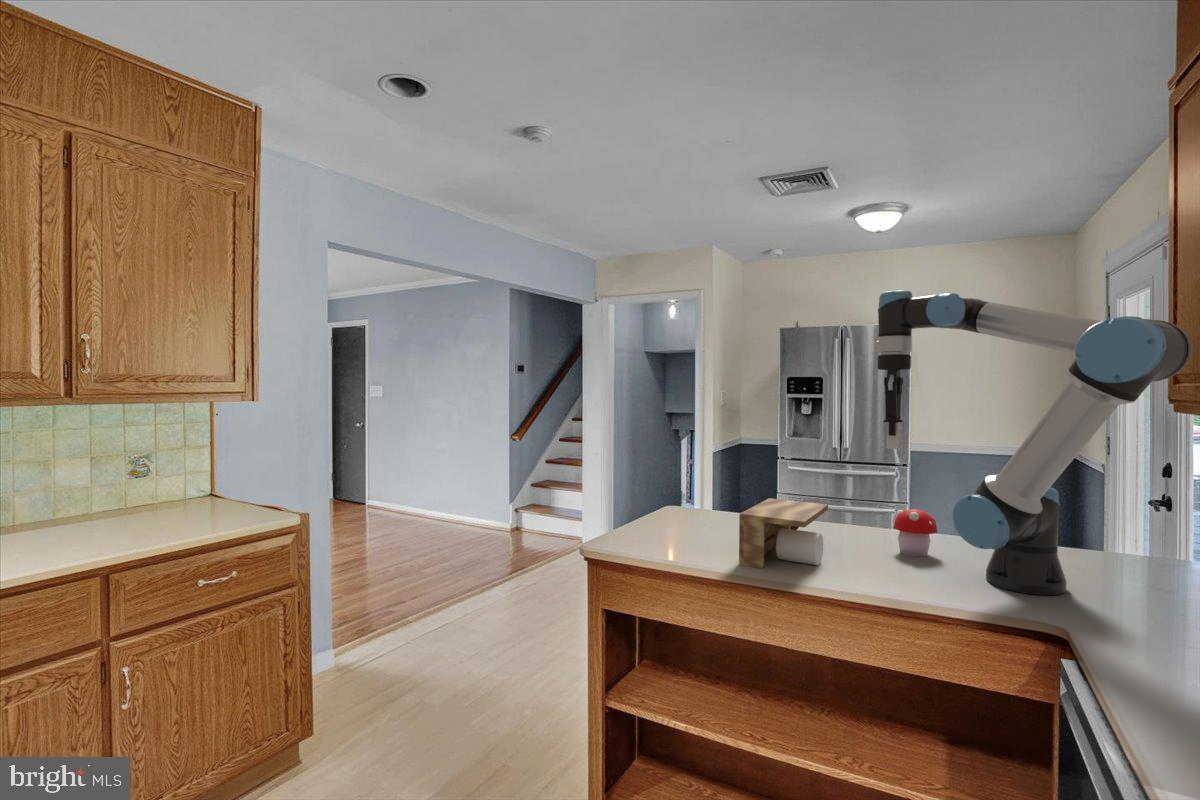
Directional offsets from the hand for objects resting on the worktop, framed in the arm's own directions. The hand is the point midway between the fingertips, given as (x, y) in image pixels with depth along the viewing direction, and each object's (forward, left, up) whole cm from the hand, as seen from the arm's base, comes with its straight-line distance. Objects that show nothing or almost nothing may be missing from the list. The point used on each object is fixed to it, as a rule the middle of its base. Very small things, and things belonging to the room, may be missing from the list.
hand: (892, 448), depth 156 cm
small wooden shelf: (+24, +9, -29) cm, 39 cm away
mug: (+20, +8, -30) cm, 37 cm away
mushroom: (-4, -15, -30) cm, 33 cm away
